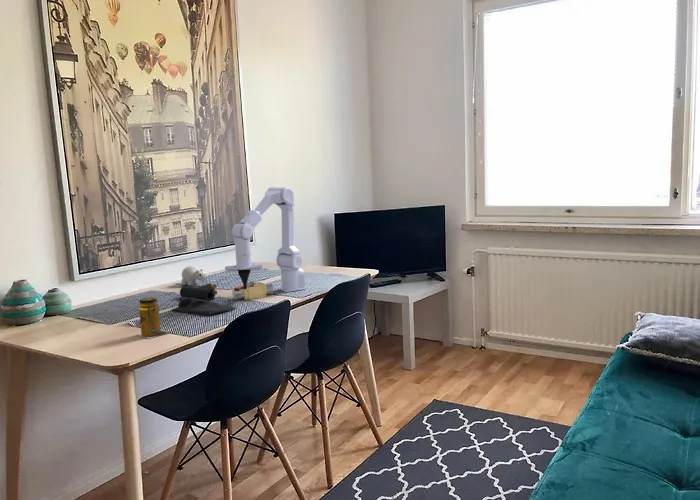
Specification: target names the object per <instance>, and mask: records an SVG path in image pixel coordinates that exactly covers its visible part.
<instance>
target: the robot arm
mask: <svg viewBox="0 0 700 500" xmlns="http://www.w3.org/2000/svg"><path fill="white" fill-rule="evenodd" d="M294 197H295V196H294V191H293V190H292V189H291V188H290V187H288V186H285V187H284V186H283V187H280V186H279V187H275V186H270V187H268V189H267V190H266V191H265V192H264V196H263V197H262V199H261V201H260V202H259V203H258V205H256V207H255V208H254V210H253V209H252V210H248V211H247V212H246V215H245V216H244V217H243V218H242V219H240V221H239V222H238V223H236V224H234V225H233V227H232V229H231V231H230V234H231V236H232V238H233V243H234V246H235V247H234V249H235V261H236V262H235V264H236V265H226V266H225V267H224V272H225V273H228V272H237V275H238V276H239V278H240V279H241V281H242V285H244V289H247V283H248V281H249V277H250V274H251V271H263V270H264V264H252V257H251V256H252V255H251V254H252V253H251V237H253V233H254V230H255V228H256V227H257V226H258V224H259V223H261V221H262V215H263V214H264V213H266V212H267V211H268V209H269V208H271V207H272V205H276V206H277V207H278V208H279V209H280V210H281V247H280V248H279V249H278V250H277V256H276V265H277V266H278V267H279V270H280V274H281V275H280V277H281V287H278V289H279V290H280V291H283V292H284V293H289V292H295V291H302V290H306V288H307V287H306V283H305V281H306V280H305V271H304V270H303V268H302V267H301V266H302V263H303V262H302V260H303V259H302V256H301V251H300V249H298V248H297V247H296V238H295V237H296V225H295V222H296V220H295V219H296V218H295V217H296V216H295V213H296V212H295V199H294Z"/></svg>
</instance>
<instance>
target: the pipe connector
mask: <svg viewBox="0 0 700 500" xmlns="http://www.w3.org/2000/svg"><path fill="white" fill-rule="evenodd" d="M217 286H218V285H217V284H215V283H214V284H213V283H206V284H203V285H201V286H197V287H195V286H188V285H182V287H181V288H180V289H179V295H180V298H181V297H186V298H193V299H199V300H205V301H210V302H213V301H214V300H215V296H216V295H218V291H217V290H216V289H217V288H218V287H217Z"/></svg>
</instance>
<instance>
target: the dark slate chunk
mask: <svg viewBox="0 0 700 500" xmlns="http://www.w3.org/2000/svg"><path fill="white" fill-rule="evenodd" d="M178 300H179V301H178V306H177V307H174V308H172V311H174V312H180V313H187V314H194V313H196V314H195V315H202V314H203V316H205V315H206V316H211V315H212V316H213V315H217V314H220V313H226V312H227V313H228V312H231V311H234V310H237V309H236V307H235V306H232V305H227V304H221V303H218V302H214V301H205V300H199V299H193V298H186V297H181V296H180V297H179V299H178Z"/></svg>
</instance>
